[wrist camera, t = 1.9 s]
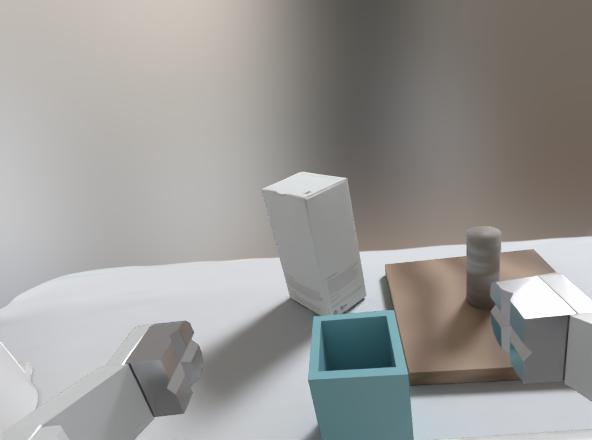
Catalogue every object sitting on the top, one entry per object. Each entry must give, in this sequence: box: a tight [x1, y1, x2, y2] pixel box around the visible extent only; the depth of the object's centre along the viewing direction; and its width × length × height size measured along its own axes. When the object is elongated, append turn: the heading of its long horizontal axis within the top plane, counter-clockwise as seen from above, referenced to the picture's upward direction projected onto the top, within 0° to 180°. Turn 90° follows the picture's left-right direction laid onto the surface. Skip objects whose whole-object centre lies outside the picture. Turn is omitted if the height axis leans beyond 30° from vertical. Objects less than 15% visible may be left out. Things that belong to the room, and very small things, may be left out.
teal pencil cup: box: [308, 310, 414, 440], centre depth 27 cm, size 6×6×10 cm
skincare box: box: [262, 172, 366, 316], centre depth 44 cm, size 8×7×16 cm
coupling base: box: [385, 226, 555, 385], centre depth 38 cm, size 18×18×10 cm
